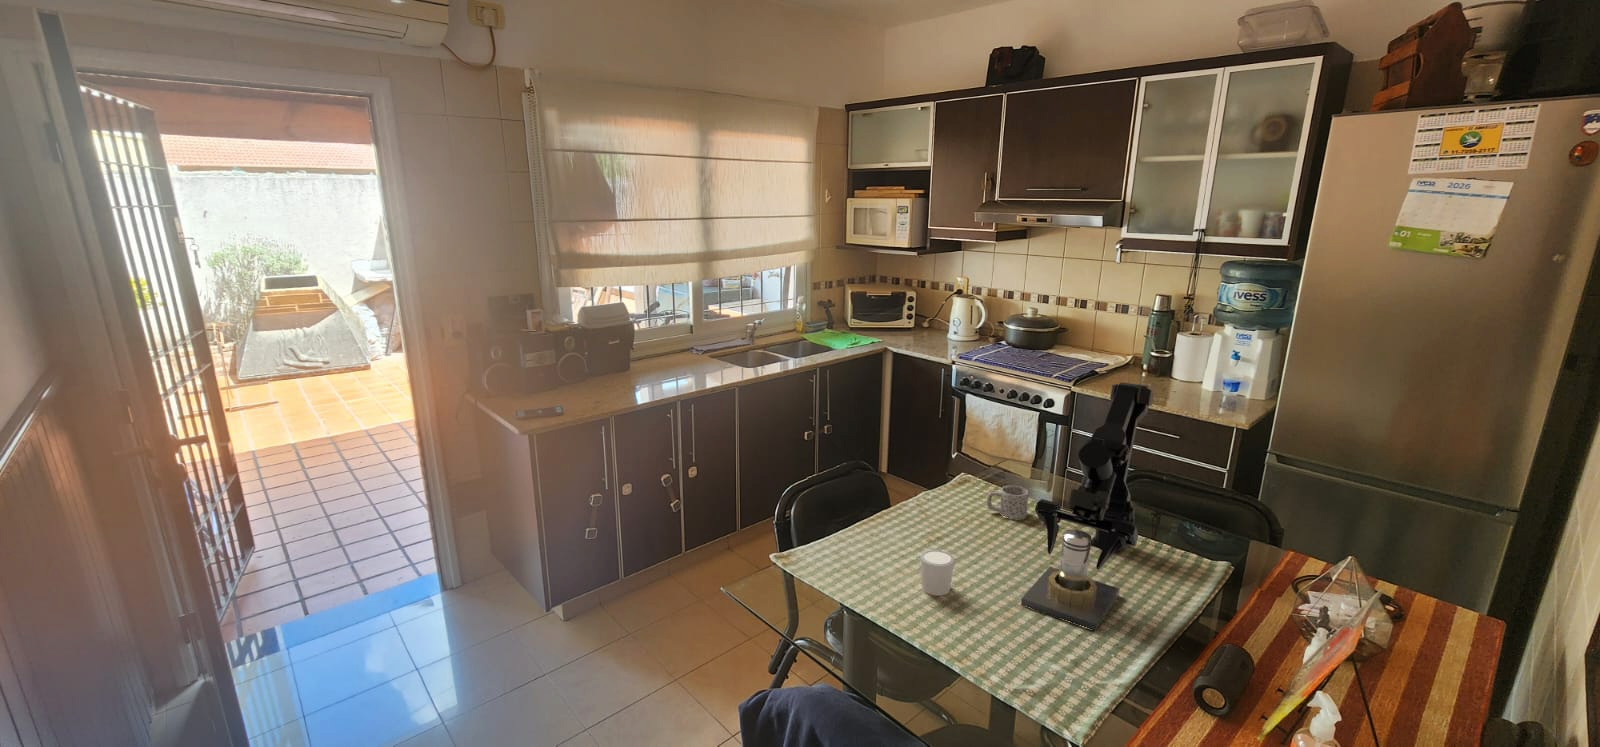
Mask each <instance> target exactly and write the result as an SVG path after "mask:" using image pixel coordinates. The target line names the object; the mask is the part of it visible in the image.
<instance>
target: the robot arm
mask: <svg viewBox="0 0 1600 747" xmlns="http://www.w3.org/2000/svg"><path fill="white" fill-rule="evenodd" d="M1154 394H1155V392H1154V390H1152V389H1150V386H1149V385H1146V384H1145V385H1144V384H1137V383H1129V382H1121V381H1120V383H1118V384H1117V383H1116V384H1112V385H1111V391H1110V397H1109V399H1110V401H1111V403H1110V406H1109V409H1108V411H1107V414H1106V418H1105V420H1104V422H1103V425H1101V426H1099V427H1097V428H1095V429H1094V431H1093V433H1092V435H1091V437H1090V438H1087V440H1086V442H1085V443H1084V445H1083V446H1082V447H1081V448H1080V449H1079V450H1078V451H1079V452H1078V460H1079V463H1080V469H1081V472H1082V474H1083V477H1082V481H1081V483H1080V485H1079V486H1078V487H1077V488H1078V489H1075V488H1070V491H1069V492H1070V493H1069V497H1068V501H1067V505H1069V509H1070V510H1071V511H1067V510H1064V509H1061V506H1060V505H1059V503H1058V502H1055V501H1051V500H1047V499H1043V498H1040V499H1039V500H1038V501H1037V502H1036V504H1035V507H1034V510H1035V513H1036V514H1037V517H1038V520H1039V521H1042V523H1043V525H1044V526H1046V531H1047V532H1046V533H1047V535H1046V536H1047V553H1048V555H1051V554H1052V553H1053V551H1054V548H1055V544H1056V541H1057V537H1058V534H1059V530H1060V526H1059V523H1060V522H1061V521H1064V522H1069V523H1072V524H1076V525H1078V526H1079V525H1080V526H1083V527H1087V528H1090V529H1094V530H1095V533H1094V536H1093V537H1092V538H1091V546H1094V547H1098V548H1101V551H1100V554H1099V557H1098V559H1097V562H1096V567H1095V568H1096V569H1097V570H1100V569H1101V568H1102V567H1103V566H1104V565H1105V564H1106V562H1107V561H1108V560H1109V559H1110V558H1111V557H1112V556H1113V555H1115V553H1120V551H1121V550H1122V549H1127V548H1128V547H1129V546H1131V547H1136V546H1137V542H1138V538H1139V532H1138V528H1137V525H1136V524H1135V522H1134V521H1135V508H1133V502H1132V501H1131V494H1130V490H1129V488H1128V486H1127V484H1126V483H1127V478H1128V473H1129V468H1130V463H1131V459H1132V458H1131V457H1132V454H1133V448H1134V442H1135V438H1136V432H1137V430H1138V429H1137V428H1138V424H1139V423H1140V422H1141V420H1143V418H1144V417H1146V416H1147V415H1148V411H1149V407H1152V405H1153V402H1154V397H1155V396H1154Z"/></svg>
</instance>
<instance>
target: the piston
mask: <svg viewBox="0 0 1600 747" xmlns="http://www.w3.org/2000/svg"><path fill="white" fill-rule="evenodd" d="M1091 540H1092V535H1091V534H1089V533H1087V531H1083V530H1079V529H1066V530H1065V531H1063V536H1062V547H1061V557H1060V565H1059V570H1060V574H1059V583H1058V585H1060V586H1061V587H1063V588H1066V589H1069V590H1073V591H1084V590H1085V589H1086V581H1087V577H1088V570H1089V564H1090V563H1089V562H1090V553H1091V548H1092V547H1091V546H1092V545H1091Z"/></svg>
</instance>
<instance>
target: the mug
mask: <svg viewBox="0 0 1600 747" xmlns="http://www.w3.org/2000/svg"><path fill="white" fill-rule="evenodd" d="M1000 490H1001V491H1000ZM1000 490H997V491H991V492H988V494H987V499H986V506H987V508H988V509H989V510H991V511H994V512H997V513H999V514H1000V513H1001V514H1002V515H1003V516H1005V517H1008V518H1012V519H1023V518H1025V519H1027V517H1026V516H1027V514H1028V503H1029V502H1028V501H1029V490H1028V489H1026V488H1024V487H1023V486H1019V485H1018V486H1017V485H1004V486H1002V487H1001V489H1000ZM994 496H996V497H999V498H1000V502H999V505H996V506H995V505H993V504H992V498H993V497H994ZM1023 520H1024V519H1023Z"/></svg>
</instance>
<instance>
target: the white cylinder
mask: <svg viewBox="0 0 1600 747" xmlns="http://www.w3.org/2000/svg"><path fill="white" fill-rule="evenodd" d="M919 556H920V572H921V574H920V575H921V588H922V591H924V592H925V593H926V594H929V595H933V596H937V595H938V596H937V597H939V596H944V595H947V594H949V592H950V590H951V583H952V580H953V579H952V578H953V571H954V566H955V561H956V560H955V557H954V556H953V555H952V554H951V553H949V552H947V551H946V550H945V551H944V550H941V549H929V550H925V551H923V552H922V553H921V554H920V555H919Z"/></svg>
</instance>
